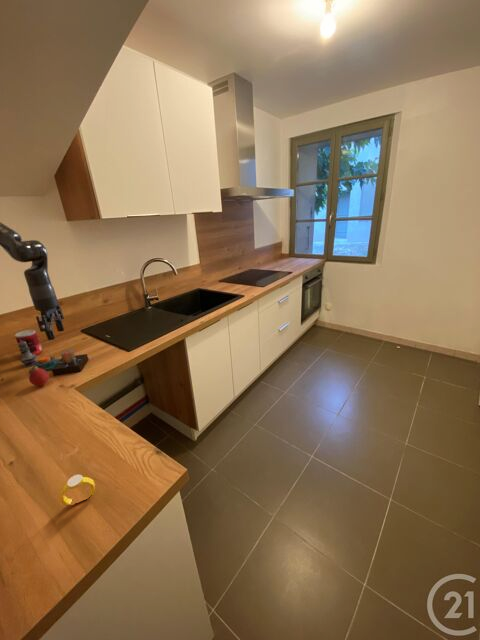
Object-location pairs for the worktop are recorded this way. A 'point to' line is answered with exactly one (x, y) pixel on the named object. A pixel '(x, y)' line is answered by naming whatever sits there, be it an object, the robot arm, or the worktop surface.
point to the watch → (74, 483)
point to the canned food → (30, 341)
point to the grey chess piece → (26, 355)
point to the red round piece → (38, 376)
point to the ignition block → (46, 364)
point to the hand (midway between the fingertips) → (56, 335)
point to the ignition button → (44, 359)
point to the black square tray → (70, 365)
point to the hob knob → (68, 356)
